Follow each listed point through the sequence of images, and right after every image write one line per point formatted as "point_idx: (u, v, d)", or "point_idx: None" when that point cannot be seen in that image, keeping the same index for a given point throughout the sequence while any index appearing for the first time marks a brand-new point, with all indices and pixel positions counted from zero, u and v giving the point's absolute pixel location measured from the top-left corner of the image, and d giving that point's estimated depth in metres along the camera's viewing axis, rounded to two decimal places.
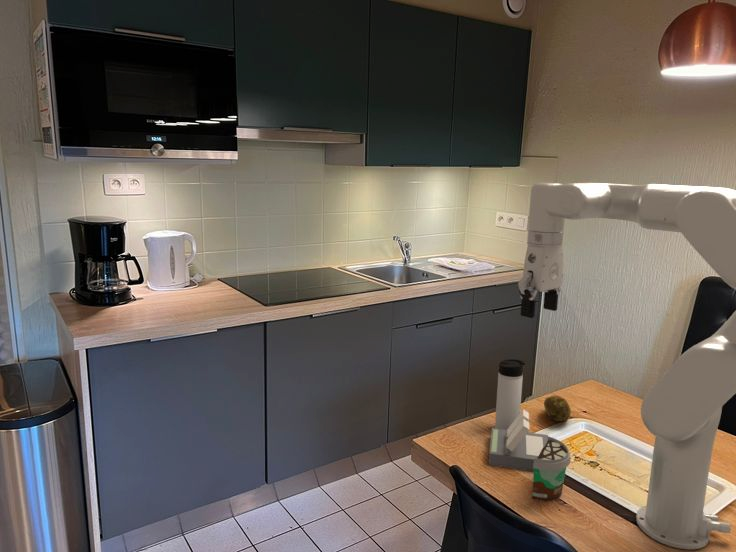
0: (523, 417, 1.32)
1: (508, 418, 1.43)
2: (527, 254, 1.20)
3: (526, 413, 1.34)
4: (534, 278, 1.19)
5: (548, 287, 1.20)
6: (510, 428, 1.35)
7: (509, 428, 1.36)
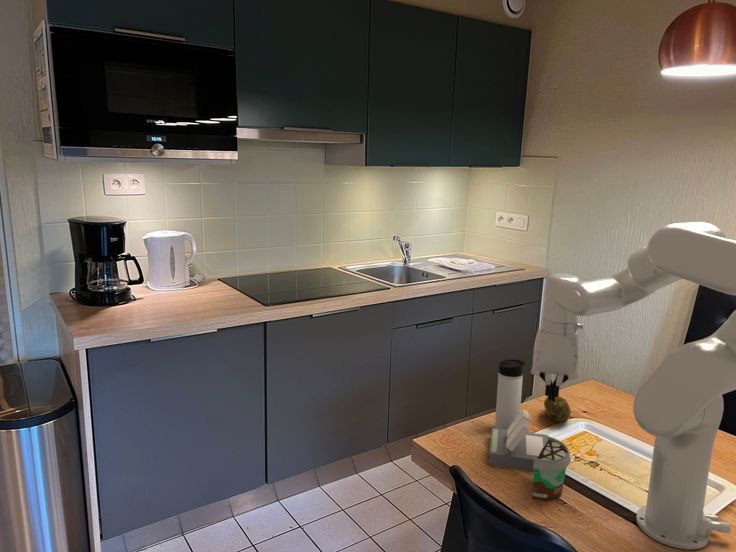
0: (523, 417, 1.32)
1: (508, 418, 1.43)
2: (578, 343, 1.26)
3: (526, 413, 1.34)
4: None
5: None
6: (510, 428, 1.35)
7: (509, 428, 1.36)
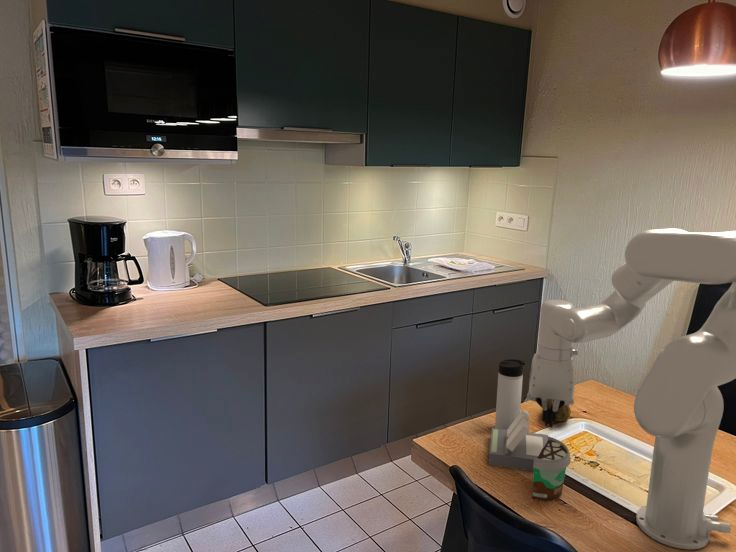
0: (523, 417, 1.32)
1: (508, 418, 1.43)
2: (573, 369, 1.27)
3: (526, 413, 1.34)
4: None
5: None
6: (510, 428, 1.35)
7: (509, 428, 1.36)
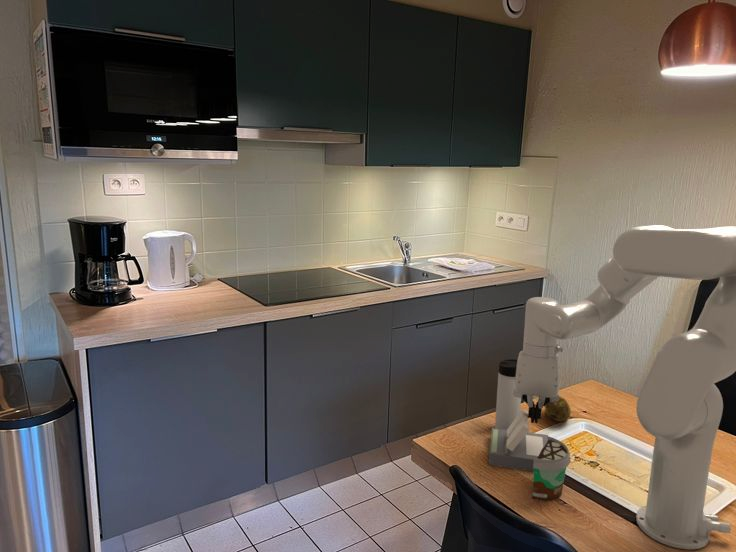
0: (522, 417, 1.32)
1: (508, 418, 1.43)
2: (558, 366, 1.28)
3: (525, 412, 1.34)
4: None
5: None
6: (510, 428, 1.35)
7: (509, 428, 1.36)
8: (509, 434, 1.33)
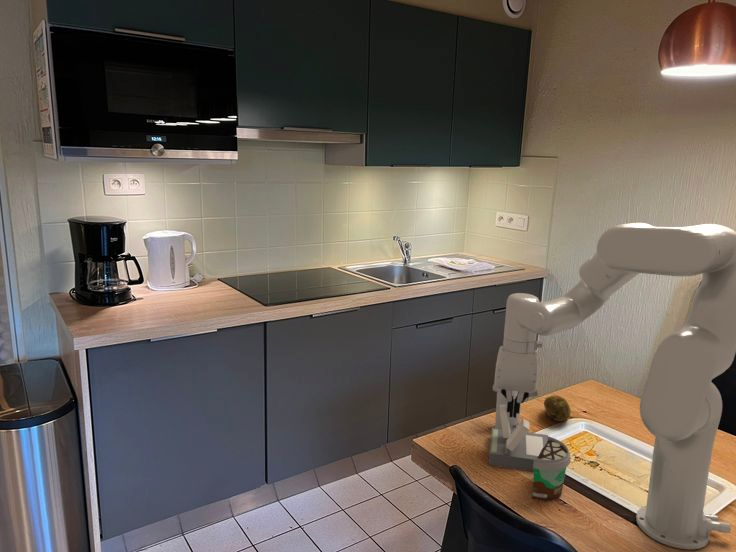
0: (501, 412, 1.33)
1: None
2: (537, 361, 1.29)
3: (503, 406, 1.35)
4: None
5: None
6: None
7: None
8: (503, 434, 1.34)
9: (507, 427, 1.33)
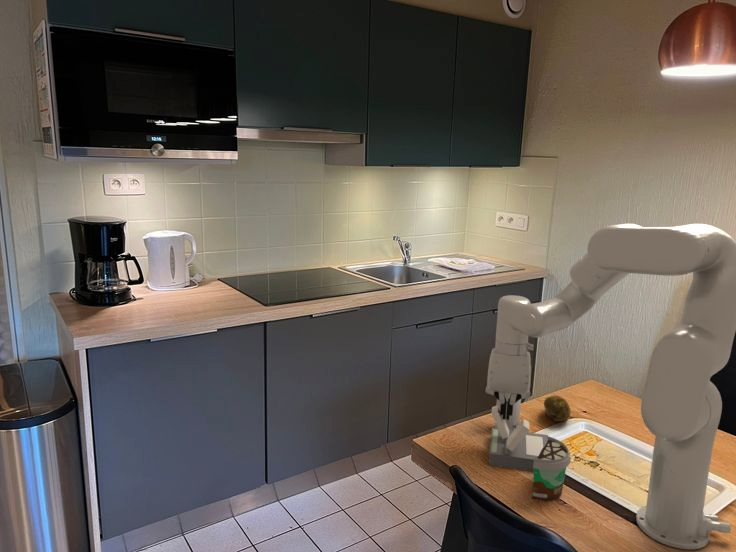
0: (493, 414, 1.34)
1: None
2: (529, 363, 1.30)
3: (495, 408, 1.36)
4: None
5: None
6: None
7: None
8: (502, 435, 1.34)
9: (503, 427, 1.34)
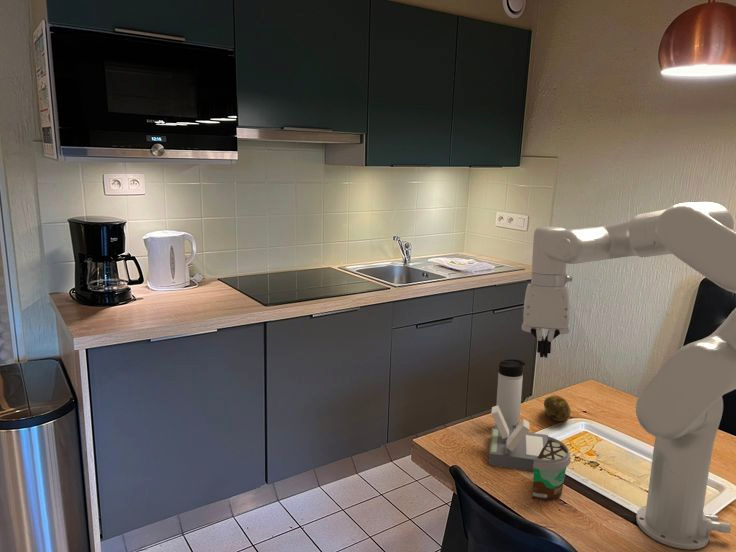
0: (493, 414, 1.34)
1: (508, 418, 1.43)
2: (568, 296, 1.25)
3: (495, 408, 1.36)
4: None
5: None
6: None
7: None
8: (502, 435, 1.34)
9: (503, 427, 1.34)
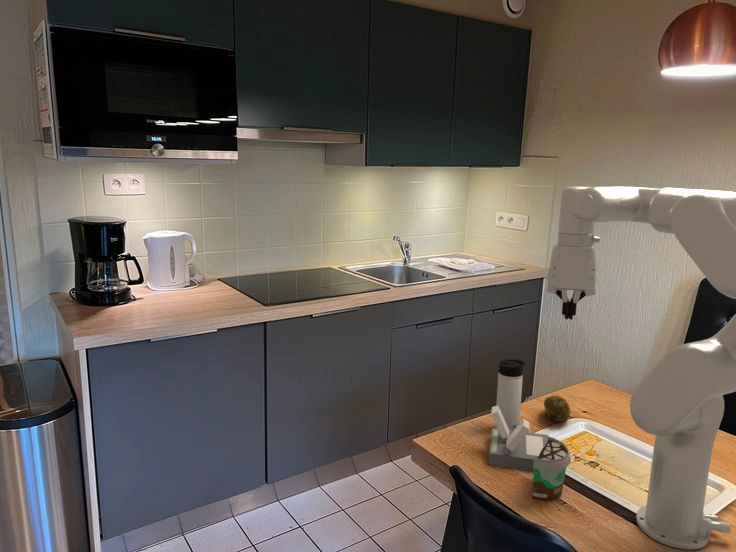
0: (493, 414, 1.34)
1: (508, 418, 1.43)
2: (595, 256, 1.23)
3: (495, 408, 1.36)
4: None
5: None
6: None
7: None
8: (502, 435, 1.34)
9: (503, 427, 1.34)
